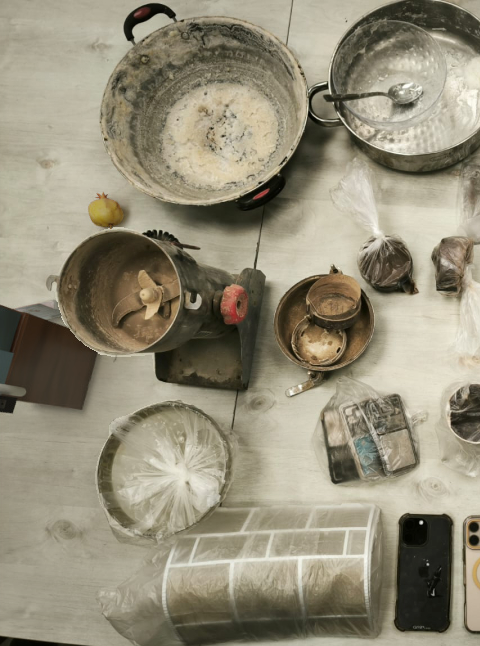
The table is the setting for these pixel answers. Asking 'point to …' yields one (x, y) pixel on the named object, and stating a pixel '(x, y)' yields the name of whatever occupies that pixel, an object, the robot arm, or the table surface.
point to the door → (3, 359)
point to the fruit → (105, 212)
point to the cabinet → (45, 360)
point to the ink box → (42, 309)
